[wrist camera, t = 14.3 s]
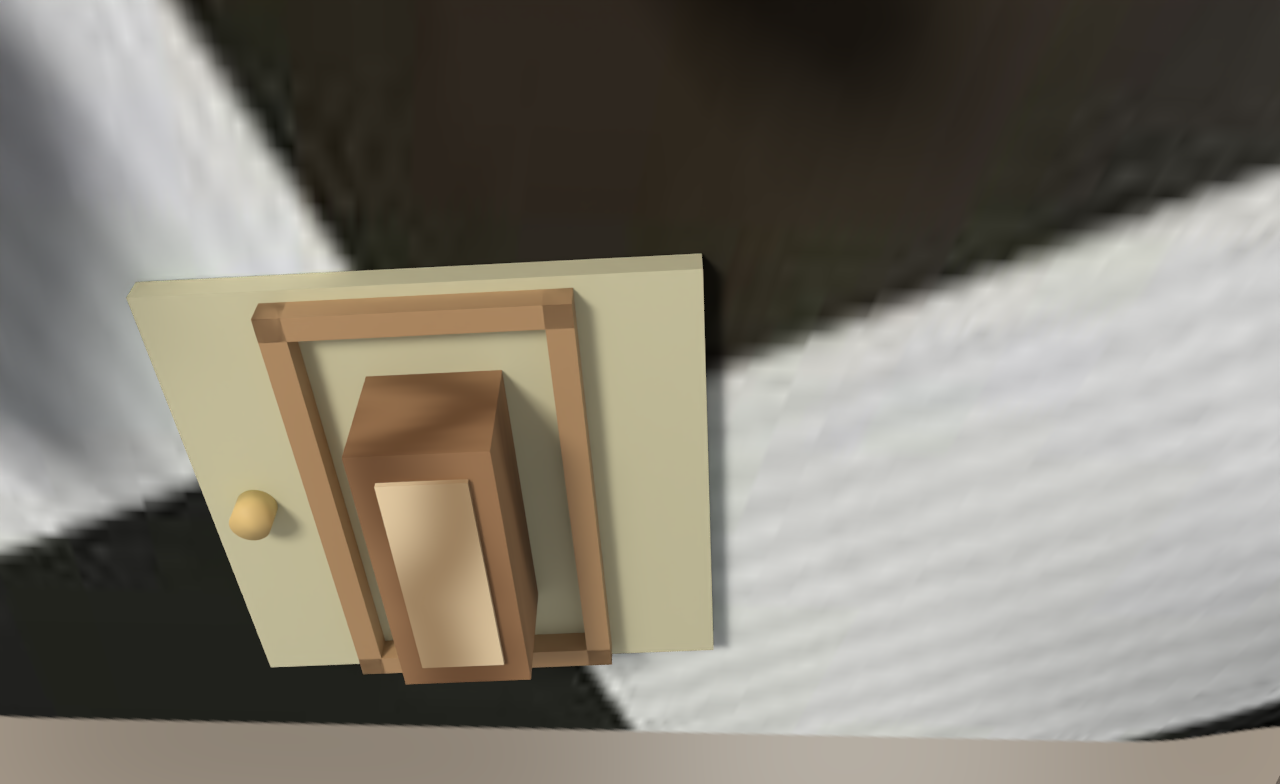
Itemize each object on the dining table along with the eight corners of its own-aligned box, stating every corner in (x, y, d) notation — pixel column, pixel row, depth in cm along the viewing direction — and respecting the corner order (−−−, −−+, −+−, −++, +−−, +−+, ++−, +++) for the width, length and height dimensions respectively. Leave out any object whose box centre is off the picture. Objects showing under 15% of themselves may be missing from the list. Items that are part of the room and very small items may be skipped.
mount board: (701, 253, 41) (704, 288, 39) (712, 632, 53) (714, 671, 51) (135, 281, 41) (114, 317, 40) (276, 649, 54) (264, 688, 52)
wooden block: (502, 370, 43) (489, 455, 39) (538, 594, 50) (530, 683, 46) (365, 376, 43) (340, 461, 39) (421, 598, 50) (405, 688, 46)
